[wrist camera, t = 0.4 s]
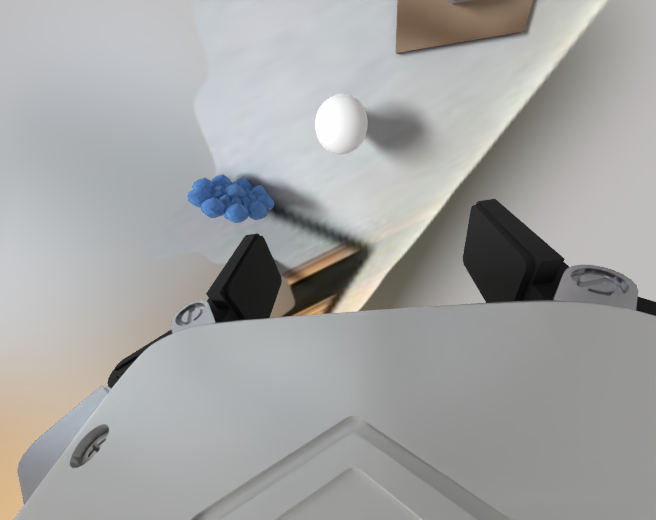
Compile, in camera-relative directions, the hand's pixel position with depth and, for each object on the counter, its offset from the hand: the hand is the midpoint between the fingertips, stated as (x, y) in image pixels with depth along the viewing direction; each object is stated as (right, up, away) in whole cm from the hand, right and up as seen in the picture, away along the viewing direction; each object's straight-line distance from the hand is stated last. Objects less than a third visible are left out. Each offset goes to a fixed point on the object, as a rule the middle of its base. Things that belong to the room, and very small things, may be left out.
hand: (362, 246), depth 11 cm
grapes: (-16, +12, +31) cm, 37 cm away
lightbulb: (+1, +20, +23) cm, 31 cm away
